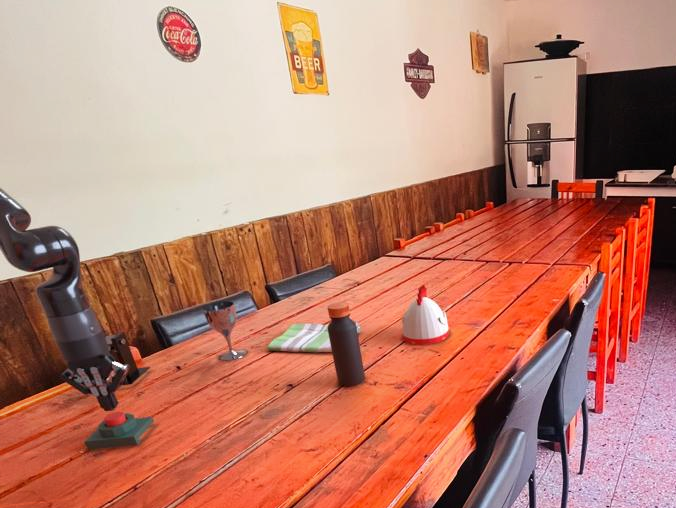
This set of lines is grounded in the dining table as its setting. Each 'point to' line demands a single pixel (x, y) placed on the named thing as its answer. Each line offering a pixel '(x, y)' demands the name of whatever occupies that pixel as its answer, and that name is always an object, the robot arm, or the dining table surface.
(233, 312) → the silver goblet
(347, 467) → the dining table surface
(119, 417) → the button
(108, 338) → the lever handle
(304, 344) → the dish towel
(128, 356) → the black lever stand
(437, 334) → the kitchen timer
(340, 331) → the bottle
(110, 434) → the button housing
